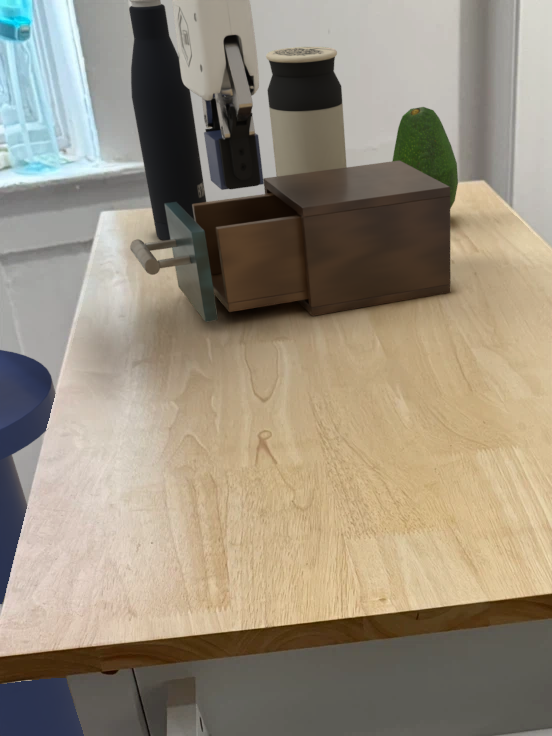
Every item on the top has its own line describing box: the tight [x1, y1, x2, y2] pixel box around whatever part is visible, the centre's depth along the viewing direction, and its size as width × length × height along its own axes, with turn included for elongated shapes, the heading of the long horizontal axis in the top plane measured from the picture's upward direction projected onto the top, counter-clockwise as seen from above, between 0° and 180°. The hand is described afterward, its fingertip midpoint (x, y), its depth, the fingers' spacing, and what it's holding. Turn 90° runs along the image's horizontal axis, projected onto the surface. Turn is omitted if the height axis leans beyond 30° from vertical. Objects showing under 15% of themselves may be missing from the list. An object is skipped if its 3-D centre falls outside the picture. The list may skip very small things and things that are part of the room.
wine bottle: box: [128, 0, 207, 241], centre depth 111 cm, size 6×6×30 cm
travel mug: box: [265, 46, 348, 177], centre depth 113 cm, size 8×8×18 cm
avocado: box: [392, 106, 459, 210], centre depth 117 cm, size 8×8×12 cm
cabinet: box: [263, 160, 451, 317], centre depth 101 cm, size 15×13×10 cm
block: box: [203, 130, 264, 191], centre depth 92 cm, size 4×4×4 cm
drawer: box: [129, 193, 308, 323], centre depth 97 cm, size 18×11×8 cm, turn 112°
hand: (235, 178), depth 93 cm, fingers closed on block, 4 cm apart
